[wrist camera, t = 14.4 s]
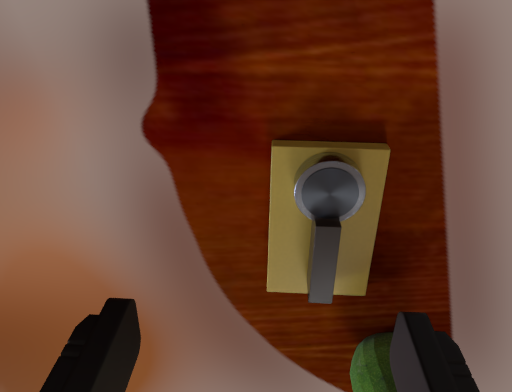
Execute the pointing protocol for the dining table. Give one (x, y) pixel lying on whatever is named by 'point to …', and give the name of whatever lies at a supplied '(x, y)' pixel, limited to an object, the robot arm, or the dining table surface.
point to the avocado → (373, 365)
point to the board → (299, 226)
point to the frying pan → (327, 214)
